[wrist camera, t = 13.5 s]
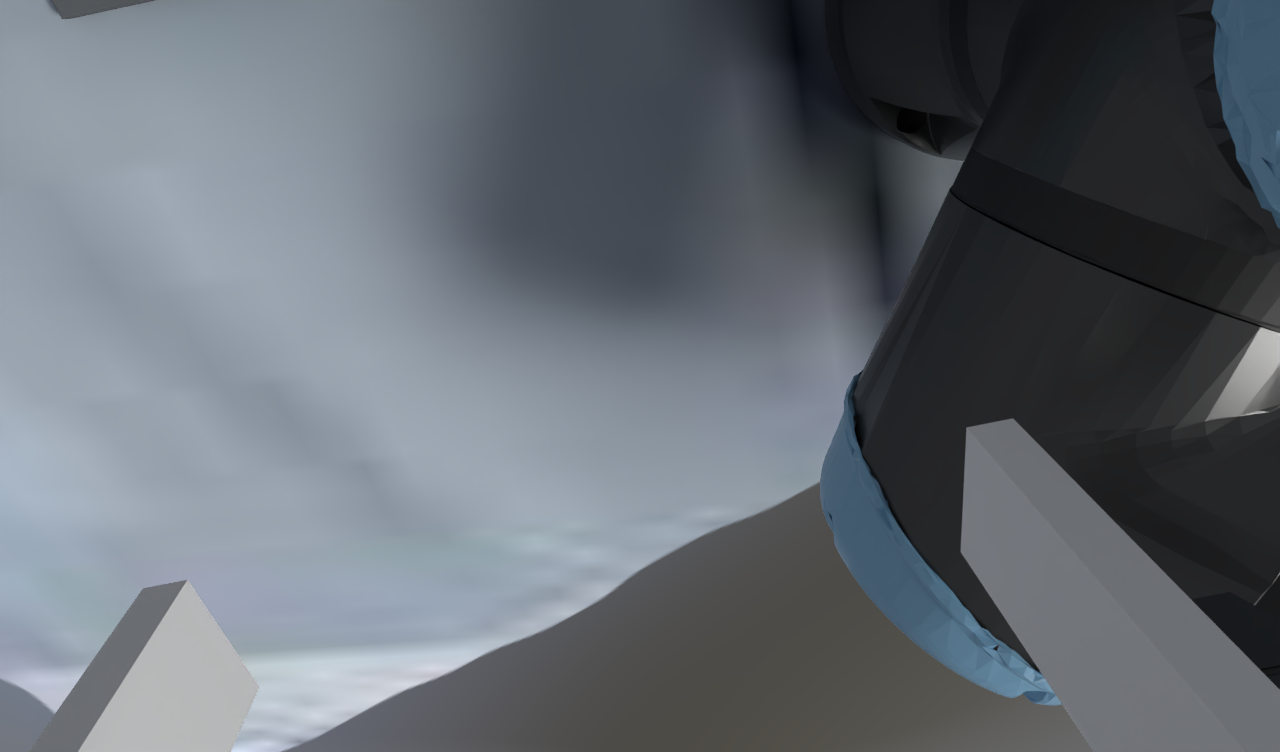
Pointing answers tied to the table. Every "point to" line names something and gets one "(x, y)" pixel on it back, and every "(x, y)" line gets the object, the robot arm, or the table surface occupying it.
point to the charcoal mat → (90, 6)
